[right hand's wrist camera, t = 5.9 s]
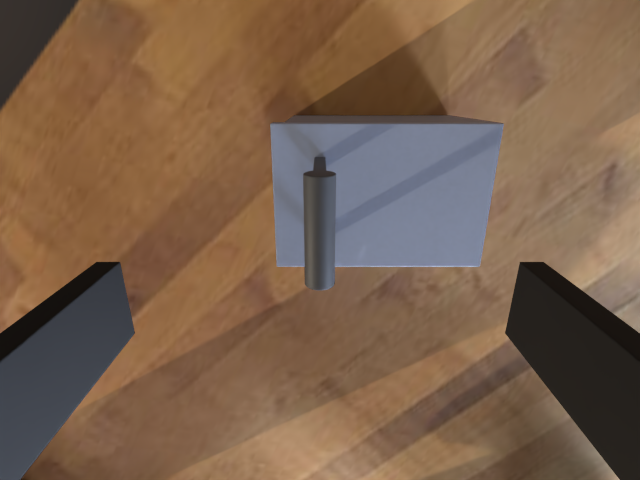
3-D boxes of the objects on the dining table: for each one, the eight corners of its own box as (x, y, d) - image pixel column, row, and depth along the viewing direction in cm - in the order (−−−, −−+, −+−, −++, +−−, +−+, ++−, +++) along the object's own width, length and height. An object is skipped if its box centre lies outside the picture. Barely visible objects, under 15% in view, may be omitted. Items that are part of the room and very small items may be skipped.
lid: (278, 260, 27) (262, 322, 20) (272, 122, 24) (250, 134, 16) (474, 260, 27) (531, 322, 20) (496, 122, 24) (576, 133, 16)
